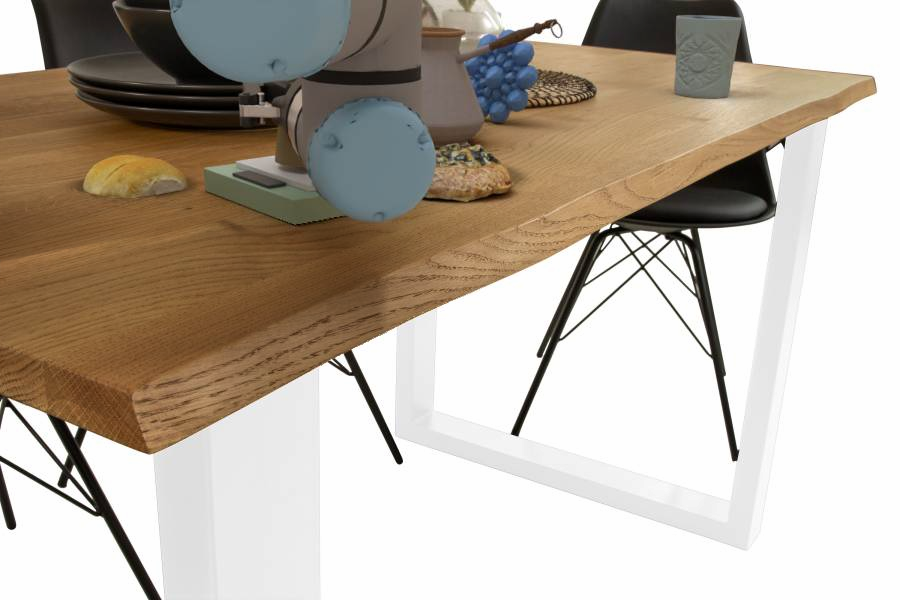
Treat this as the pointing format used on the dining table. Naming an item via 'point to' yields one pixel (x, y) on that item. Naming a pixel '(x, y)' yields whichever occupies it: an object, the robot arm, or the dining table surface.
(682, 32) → the grey embossed vase
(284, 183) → the scale
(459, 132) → the coffee pot
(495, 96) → the grapes
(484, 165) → the bread roll
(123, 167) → the bread roll
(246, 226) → the dining table surface
